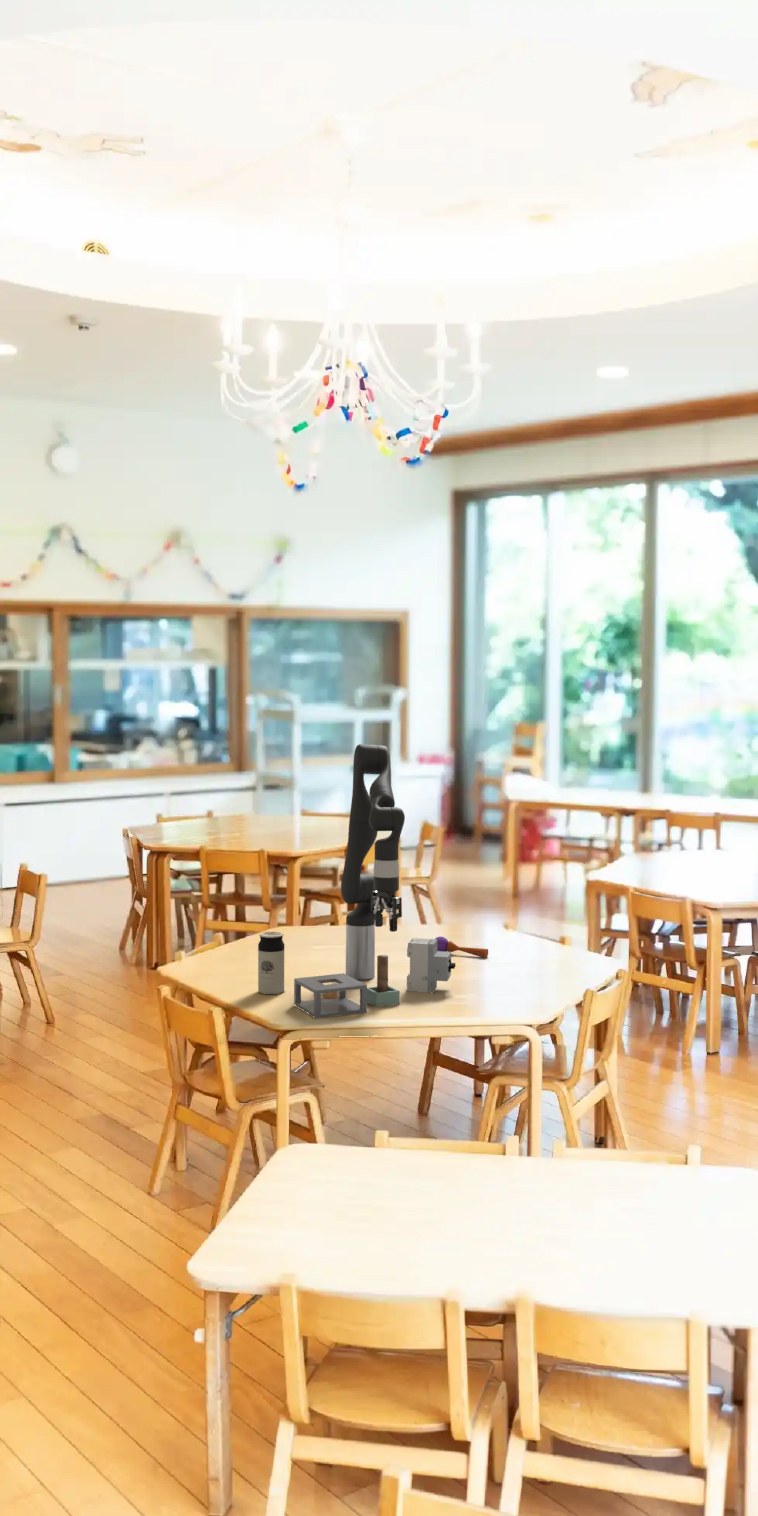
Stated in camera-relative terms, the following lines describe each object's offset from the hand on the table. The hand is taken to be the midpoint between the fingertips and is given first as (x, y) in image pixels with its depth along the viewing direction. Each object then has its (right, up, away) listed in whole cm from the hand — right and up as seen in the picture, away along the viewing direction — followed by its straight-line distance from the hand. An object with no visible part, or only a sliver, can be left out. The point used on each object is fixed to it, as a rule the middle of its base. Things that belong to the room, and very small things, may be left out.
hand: (385, 928), depth 403 cm
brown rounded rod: (-1, -22, +2) cm, 22 cm away
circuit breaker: (+14, -21, +18) cm, 31 cm away
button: (-16, -19, -6) cm, 26 cm away
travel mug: (-35, -21, +14) cm, 43 cm away
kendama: (+26, -18, +67) cm, 74 cm away
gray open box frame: (-16, -23, -6) cm, 28 cm away
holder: (-1, -22, +2) cm, 22 cm away
